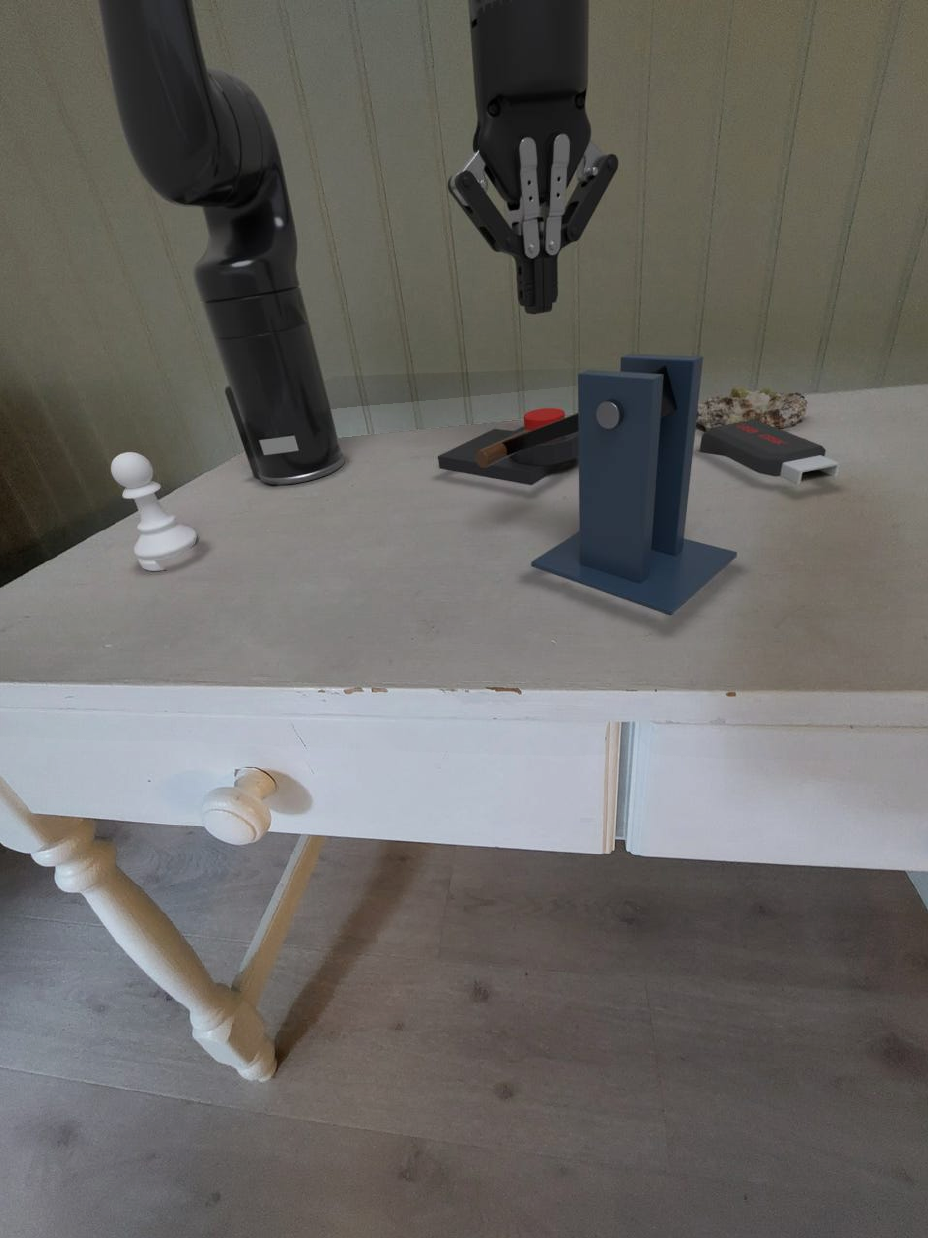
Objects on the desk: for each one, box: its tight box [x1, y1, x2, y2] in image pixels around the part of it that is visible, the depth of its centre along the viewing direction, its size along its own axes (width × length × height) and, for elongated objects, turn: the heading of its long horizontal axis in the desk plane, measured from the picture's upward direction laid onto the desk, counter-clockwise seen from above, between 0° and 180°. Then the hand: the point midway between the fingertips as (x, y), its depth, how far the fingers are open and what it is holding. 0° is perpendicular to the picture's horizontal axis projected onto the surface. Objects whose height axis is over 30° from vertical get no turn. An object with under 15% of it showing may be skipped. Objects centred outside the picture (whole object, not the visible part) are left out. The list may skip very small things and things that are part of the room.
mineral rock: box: [696, 385, 808, 432], centre depth 57 cm, size 11×4×8 cm
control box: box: [437, 426, 579, 486], centre depth 54 cm, size 13×9×4 cm
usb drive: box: [699, 420, 841, 485], centre depth 48 cm, size 5×12×3 cm, turn 11°
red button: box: [523, 407, 566, 431], centre depth 50 cm, size 4×4×2 cm
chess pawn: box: [110, 451, 198, 572], centre depth 46 cm, size 5×5×9 cm
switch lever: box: [475, 365, 677, 468], centre depth 35 cm, size 13×5×2 cm, turn 45°
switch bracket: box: [530, 353, 738, 616], centre depth 33 cm, size 10×8×13 cm
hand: (537, 312), depth 45 cm, fingers closed
